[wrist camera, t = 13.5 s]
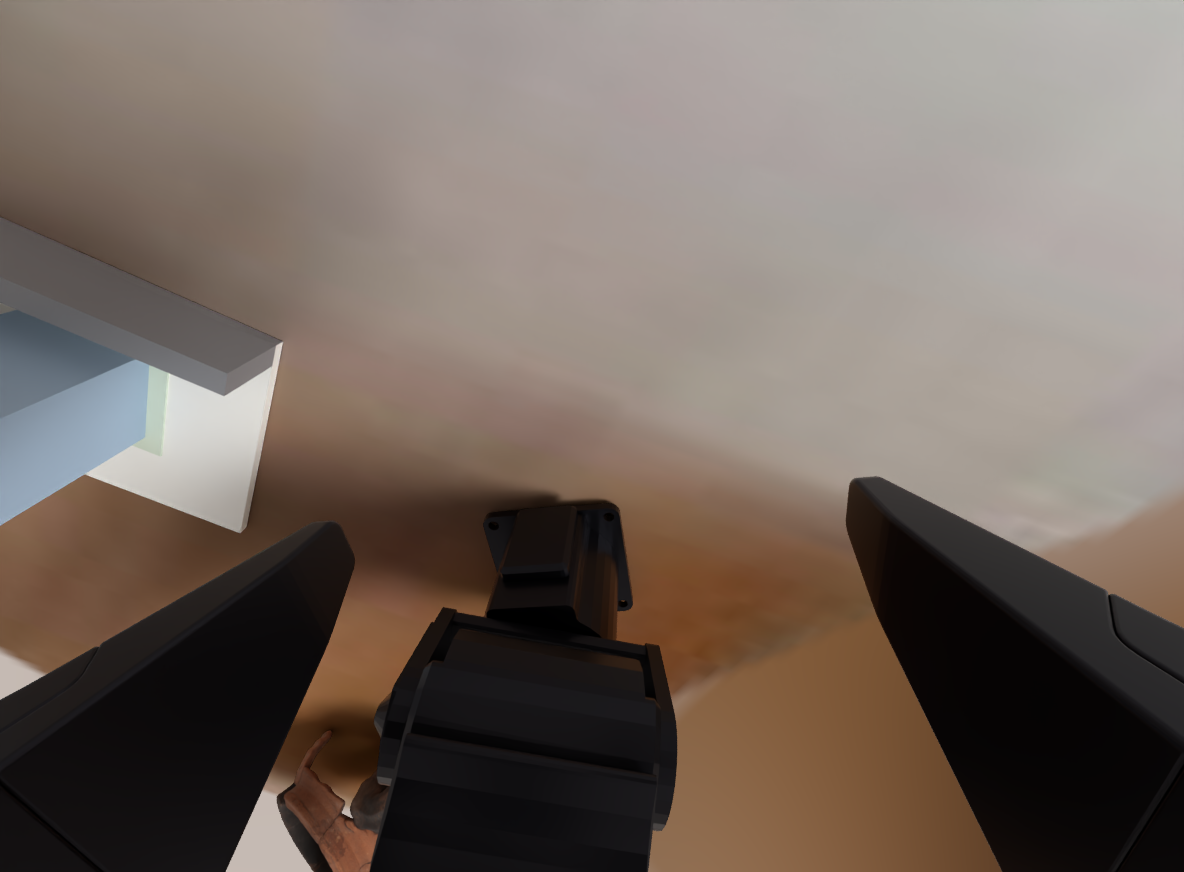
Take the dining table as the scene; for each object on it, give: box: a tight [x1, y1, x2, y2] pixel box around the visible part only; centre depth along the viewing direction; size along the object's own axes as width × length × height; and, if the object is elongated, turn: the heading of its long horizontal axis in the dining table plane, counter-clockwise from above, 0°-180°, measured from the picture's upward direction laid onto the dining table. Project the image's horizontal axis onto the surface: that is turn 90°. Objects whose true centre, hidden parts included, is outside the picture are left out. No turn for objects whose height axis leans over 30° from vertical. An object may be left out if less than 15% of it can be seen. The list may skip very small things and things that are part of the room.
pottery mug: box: [277, 731, 390, 872], centre depth 34 cm, size 12×9×8 cm
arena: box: [0, 217, 283, 533], centre depth 22 cm, size 12×11×4 cm
